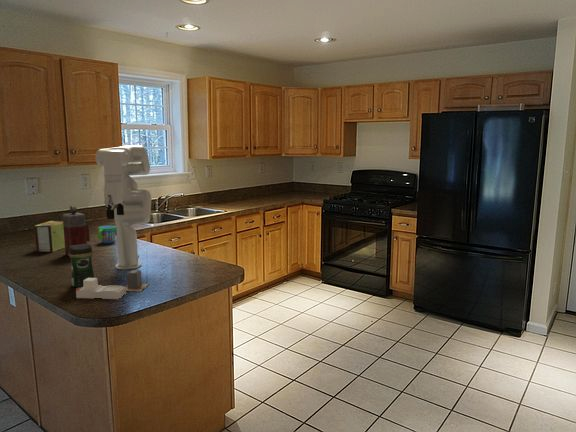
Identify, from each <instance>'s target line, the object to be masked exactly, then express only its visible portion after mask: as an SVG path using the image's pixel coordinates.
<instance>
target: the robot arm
mask: <svg viewBox="0 0 576 432" xmlns="http://www.w3.org/2000/svg"><path fill="white" fill-rule="evenodd" d="M94 157H95V158H94V159H95V162H96V164H97V165H98V166H100V167H103V176H104V177H103V178H104V179H103V180H104V187H103V202H104V203H103V204H104V205H105V206H104V207H105V211H106V219H108V220H109V219H110V220H114V223H115V226H116V231H117V235H116V241H117V242H116V247H117V259H118V260H117V263H116V264H115V265H114V266H115V269H117V270H125V271H126V270H136V269H138V268H140V267H142V262H140V261H139V258H140V255H139V254H138V234H137V231H136V229H135V227H133V225H145V224H148V223H149V222H150V220H151V215H152V214H151V211H152V195H151V192H150V191H149V190H148V189H143V188H141V189H138V186H139V185H138V182H136V181H135V179H134V178H133V177H131V176H146V175H148V174H149V173H150V171H151V164H150V163H151V162H150V160H149V155H148V151H147V150H146V148H145V147H144V146H143V145H127V144H126V145H121V146H118V147H117V146H116V147H108V148H100V149H98V150H97V151H96V152H95V156H94ZM115 206H116V208H114V207H115Z"/></svg>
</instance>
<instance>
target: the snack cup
mask: <svg viewBox="0 0 576 432" xmlns="http://www.w3.org/2000/svg"><path fill="white" fill-rule="evenodd" d="M97 230H98V233H97V239H98V240H99V241H101V243H102V244H113V243H115V240H116V236H117V231H116V225H101V226H98V227H97Z"/></svg>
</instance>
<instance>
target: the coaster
mask: <svg viewBox="0 0 576 432" xmlns="http://www.w3.org/2000/svg"><path fill="white" fill-rule="evenodd" d="M148 285H149V283H142V286H141V287H140V288H138V289H128V286H127V285H125V286H124V287H126V291H142V290H143V289H144V288H145V287H146V286H148ZM148 287H149V286H148ZM146 288H147V287H146ZM146 288H145V289H146ZM145 289H144V290H145ZM144 290H143V291H144ZM143 291H142V292H143Z"/></svg>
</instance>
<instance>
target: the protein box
mask: <svg viewBox="0 0 576 432" xmlns="http://www.w3.org/2000/svg"><path fill="white" fill-rule="evenodd" d="M33 227H34V229H33V230H34V237H35V247H36V252H38V253H40V252H42V253H54V252H56V251H58V250H62V249H65V241H64V228H63V220H60V221H59V220H50V221H49V220H48V221H46V222H43V223H39V224H36V225H34V226H33Z"/></svg>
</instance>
